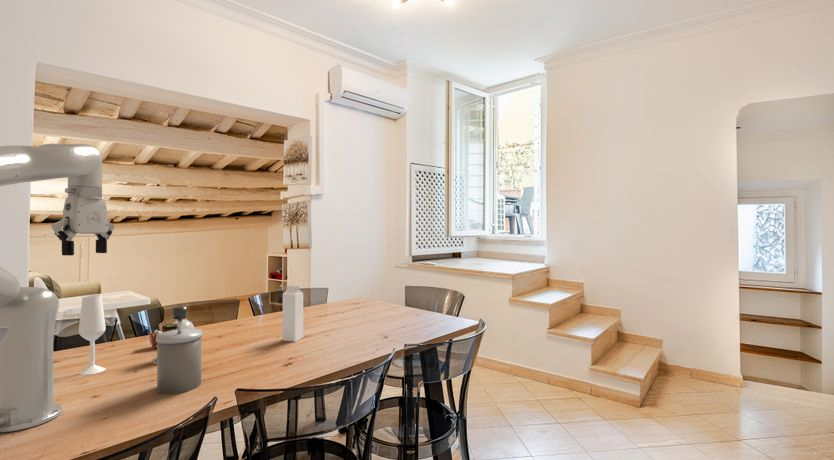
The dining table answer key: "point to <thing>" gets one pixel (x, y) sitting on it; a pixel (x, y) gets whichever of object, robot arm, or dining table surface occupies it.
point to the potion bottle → (185, 325)
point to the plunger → (179, 316)
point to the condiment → (166, 328)
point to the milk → (292, 314)
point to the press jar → (178, 361)
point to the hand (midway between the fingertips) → (85, 254)
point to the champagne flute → (92, 327)
